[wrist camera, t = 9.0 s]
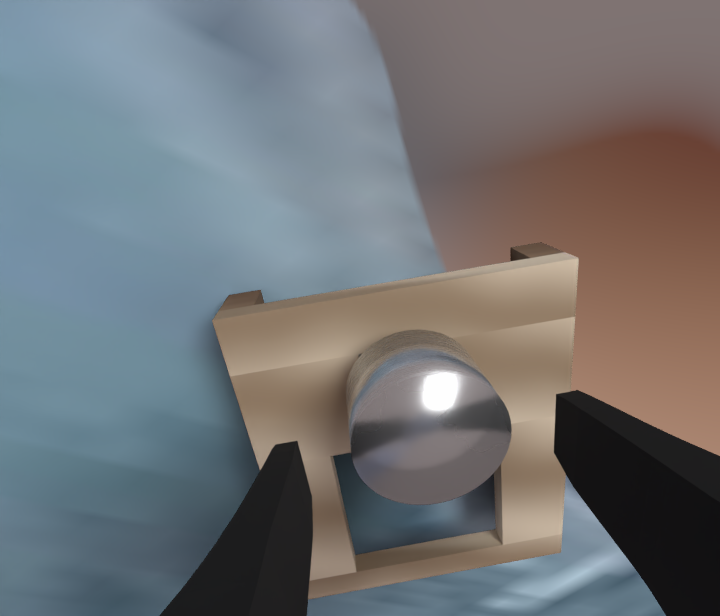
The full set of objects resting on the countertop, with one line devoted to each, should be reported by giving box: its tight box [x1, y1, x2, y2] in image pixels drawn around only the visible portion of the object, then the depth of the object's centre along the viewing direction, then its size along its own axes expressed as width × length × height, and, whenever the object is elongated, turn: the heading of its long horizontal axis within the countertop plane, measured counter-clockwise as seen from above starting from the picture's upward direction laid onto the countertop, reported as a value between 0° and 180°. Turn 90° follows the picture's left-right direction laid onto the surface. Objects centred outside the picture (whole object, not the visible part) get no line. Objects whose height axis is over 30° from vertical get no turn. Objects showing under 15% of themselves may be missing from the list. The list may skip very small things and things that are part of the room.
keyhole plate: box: [212, 242, 578, 599], centre depth 17 cm, size 14×12×2 cm
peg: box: [346, 330, 512, 505], centre depth 14 cm, size 5×5×6 cm
